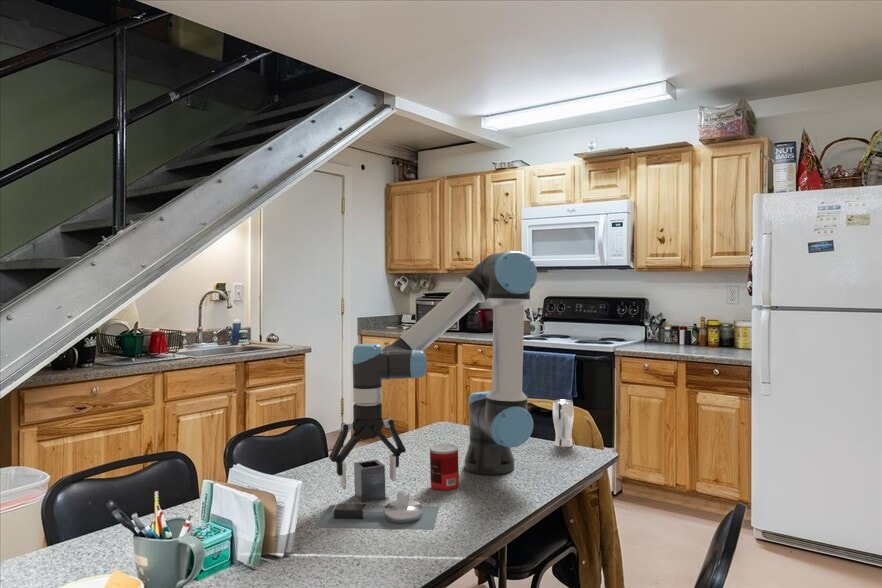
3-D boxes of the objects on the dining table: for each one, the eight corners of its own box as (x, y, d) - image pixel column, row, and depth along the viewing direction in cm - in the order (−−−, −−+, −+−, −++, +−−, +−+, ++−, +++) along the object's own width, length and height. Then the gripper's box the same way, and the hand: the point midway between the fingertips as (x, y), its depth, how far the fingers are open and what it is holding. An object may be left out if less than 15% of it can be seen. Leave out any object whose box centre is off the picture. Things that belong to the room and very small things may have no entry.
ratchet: (424, 509, 146) (423, 487, 146) (419, 524, 137) (419, 500, 137) (339, 508, 148) (338, 486, 148) (328, 523, 139) (328, 499, 139)
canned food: (462, 483, 166) (461, 444, 166) (453, 493, 158) (452, 452, 158) (436, 481, 168) (435, 442, 168) (426, 490, 161) (425, 450, 161)
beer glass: (576, 447, 199) (575, 403, 199) (555, 448, 199) (554, 403, 199) (571, 442, 206) (571, 399, 206) (551, 442, 206) (550, 399, 206)
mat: (439, 507, 148) (439, 506, 148) (433, 531, 134) (433, 529, 134) (330, 506, 151) (330, 504, 151) (313, 529, 137) (313, 527, 137)
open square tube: (377, 492, 160) (376, 459, 160) (385, 500, 155) (384, 465, 154) (354, 496, 158) (354, 462, 158) (361, 504, 152) (361, 469, 152)
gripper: (406, 396, 164) (407, 472, 165) (317, 404, 154) (318, 486, 154) (416, 401, 158) (417, 480, 158) (323, 410, 147) (324, 495, 147)
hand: (368, 483), depth 156 cm, fingers open, 13 cm apart
